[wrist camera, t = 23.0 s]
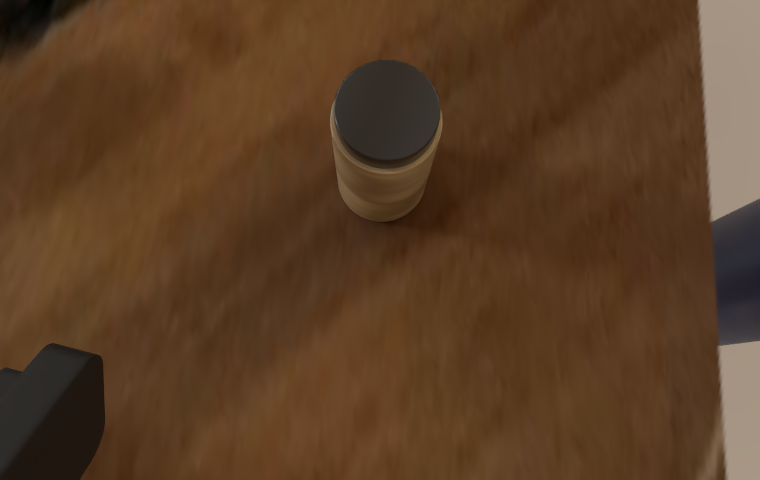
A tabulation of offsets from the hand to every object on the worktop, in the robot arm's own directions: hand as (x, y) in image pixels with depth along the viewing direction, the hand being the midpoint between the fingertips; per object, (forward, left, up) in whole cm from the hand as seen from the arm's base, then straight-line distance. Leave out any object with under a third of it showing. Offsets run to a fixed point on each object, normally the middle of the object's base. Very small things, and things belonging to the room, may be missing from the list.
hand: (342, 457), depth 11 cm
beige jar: (+2, -12, -26) cm, 29 cm away
